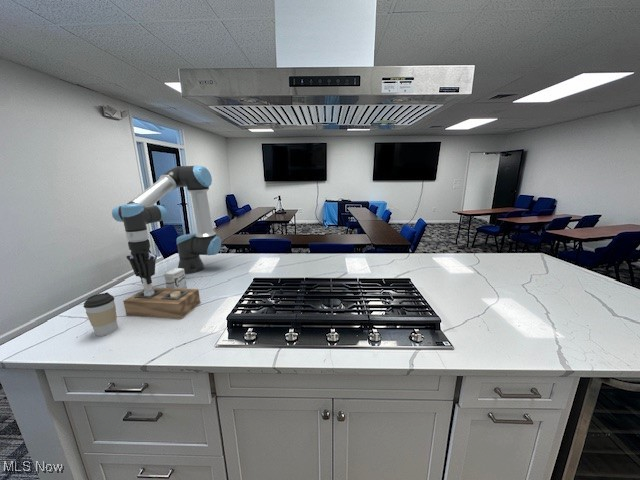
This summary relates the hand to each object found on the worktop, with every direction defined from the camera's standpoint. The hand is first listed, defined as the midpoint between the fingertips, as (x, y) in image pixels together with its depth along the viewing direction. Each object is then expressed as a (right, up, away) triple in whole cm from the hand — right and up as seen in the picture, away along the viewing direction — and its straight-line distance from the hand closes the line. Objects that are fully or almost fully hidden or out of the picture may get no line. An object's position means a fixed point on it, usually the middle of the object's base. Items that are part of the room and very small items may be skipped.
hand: (148, 290), depth 113 cm
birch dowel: (+13, -8, +1) cm, 15 cm away
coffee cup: (-7, -13, -14) cm, 21 cm away
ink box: (+3, -5, +19) cm, 19 cm away
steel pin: (0, -7, +2) cm, 8 cm away
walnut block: (+7, -9, +2) cm, 11 cm away
